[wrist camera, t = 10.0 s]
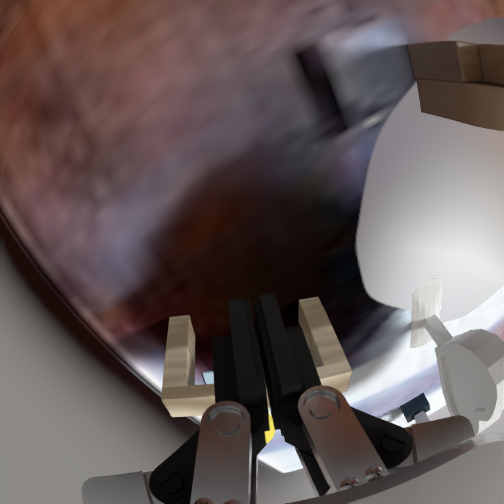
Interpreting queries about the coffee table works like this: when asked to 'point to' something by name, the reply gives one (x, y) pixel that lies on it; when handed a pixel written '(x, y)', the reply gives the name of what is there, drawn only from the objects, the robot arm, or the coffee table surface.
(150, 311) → the coffee table surface
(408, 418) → the watch
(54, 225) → the coffee table surface
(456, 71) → the wooden toy
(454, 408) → the heart sculpture
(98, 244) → the coffee table surface
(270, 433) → the ball
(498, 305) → the coffee table surface
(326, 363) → the bridge
